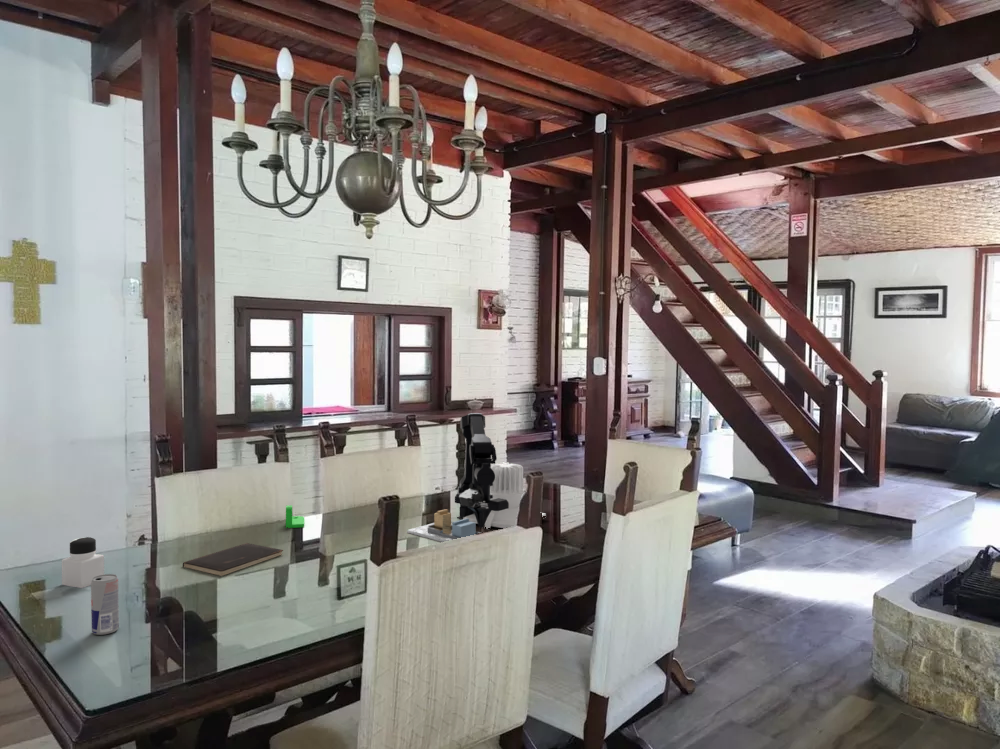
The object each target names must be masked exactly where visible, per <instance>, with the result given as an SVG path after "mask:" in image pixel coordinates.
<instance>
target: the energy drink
mask: <svg viewBox="0 0 1000 749" xmlns="http://www.w3.org/2000/svg"><path fill="white" fill-rule="evenodd" d="M119 595H120V594H119V578H118V575H117V574H113V573H107V574H105V573H104V575H99V576H96V577H94V578H92V582H91V585H90V598H91V599H90V601H91V602H90V603H91V604H90V606H91V611H90V612H91V615H90V616H91V632H92V633H93V635H95V636H97V635H98V636H99V635H100V636H103V635H110V634H112V633H115V632H116V631H118V629H120V617H119V616H120V614H119V613H120V610H119V608H120V605H119V602H120V601H119V600H120V598H119Z"/></svg>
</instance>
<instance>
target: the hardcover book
mask: <svg viewBox="0 0 1000 749" xmlns="http://www.w3.org/2000/svg"><path fill="white" fill-rule="evenodd" d="M283 551H284V550H283V549H279V548H275V547H269V546H265V545H259V544H253V543H250V542H249V543H248V542H245V543H243V544H242V543H241V544H239V545H236V546H232V547H230V548H226V549H223V550H219V551H216V552H212V553H210V554H206V555H203V556H198V557H196V558H193V559H191V560H185V561H184V562H183V563H182V568H187V569H192V570H195V571H199V572H203V573H208V574H212V575H216V576H220V577H222V576H225V575H228V574H231V573H234V572H236V571H239V570H242V569H245V568H248V567H250V566H253V565H256V564H259V563H262V562H265V561H268V560H271V559H274V558H277V557H280V556H282V554H283V553H282V552H283Z"/></svg>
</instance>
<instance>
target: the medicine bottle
mask: <svg viewBox="0 0 1000 749" xmlns="http://www.w3.org/2000/svg"><path fill="white" fill-rule="evenodd" d="M96 542H97V541H96V538H94V537H89V536H88V537H87V536H86V537H85V536H84V537H78V538H75V539H72V540H71V541H70V542H69V556H68V557H65V558H62V559H61V584H62V586H68V587H74V588H80V589H84V588H86V587H88V586H91V582H92V578H94V577H96V576H99V575H105V556H104V554H97V553H96V552H97V551H96V550H97V545H96V544H97V543H96Z"/></svg>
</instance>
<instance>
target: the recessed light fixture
mask: <svg viewBox="0 0 1000 749" xmlns="http://www.w3.org/2000/svg"><path fill="white" fill-rule="evenodd" d="M491 469H492V470H493V471H494V474H495V480H494V482H493V486H490V495H493V498H491V499H490V500H493V499H497V498H500V499H506V500H507V501H508V502H509V508H508V509H504V510H500V511H493V510H491V512H490V514H489V516H488V518H487V520H486V522H485V524H484V528H485V527H486V529H488V528H490V529H491V527H494V528H501V529H506V527H511V526H514V525H515V520H516V516H517V512H518V507H519V502H520V499H521V495H522V494H523V492H524V490H526V489H524V467H523V465H521V464H520V463H519V464H518V463H509V461H507V462H504V461H502V462H501V463H495V464H491ZM483 502H484V501H483ZM541 513H542V517H543V516H546V517H547V513H545V512H541ZM466 518H468V519H469V521H470V522H475V523H476V524H477V525H478V523H477V520H476V517H475V514H472V515H469V516H466V517H464V518H463V519H466Z"/></svg>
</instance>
